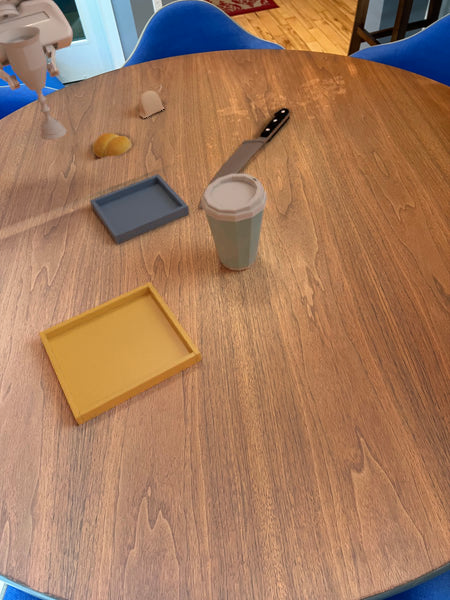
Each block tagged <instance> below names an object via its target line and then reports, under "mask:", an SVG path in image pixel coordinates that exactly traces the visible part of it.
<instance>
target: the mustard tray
mask: <svg viewBox="0 0 450 600" xmlns="http://www.w3.org/2000/svg"><path fill="white" fill-rule="evenodd" d="M38 335H39V339H40V340H41V342H42V345H43V347H44V349H45V351H46V353H47V357H48V358H49V361H50V363H51V366H52V368H53V370H54V372H55V376H56V377H57V380H58V382H59V385H60V386H61V389H62V391H63V394H64V396H65V398H66V402H67V403H68V406H69V407H70V410H71V412H72V415H73V417H74V419H75V421H76V423H77V424H78V425H79V426H81V425H83V424H85V423H87V422H89V421H90V420H92V419H94V418H96V417H98V416H100V415H102V414H103V413H106V412H107V411H110V410H111V409H113V408H115V407H117V406H118V405H120V404H122V403H124V402H126V401H128V400H130V399H131V398H133V397H135V396H138V395H139V394H141V393H143V392H145V391H148V390H149V389H150V388H153V387H155V386H156V385H158V384H160V383H162V382H163V381H166V380H168V379H169V378H171V377H173V376H175V375H177V374H179V373H180V372H182V371H184V370H186V369H188V368H190V367H192V366H194V365H196V364H197V363H200V362H201V361H202V354H201V352H200V350H199V349H198V348H197V346H196V344H195V343H194V342H193V340H192V339H191V337H190V336H189V335H188V333H187V332H186V330H185V329H184V328H183V326H182V325H181V323H180V322H179V320H178V319H177V317H176V316H175V314H174V313H173V312H172V310H171V309H170V307H169V306H168V304H167V303H166V302H165V300H164V299H163V298H162V296H161V295H160V293H159V292H158V290H157V289H156V287H155V286H154V285H153V283H152V282H151V281H149V282H146V283H145V284H141V285H140V286H137V287H135V288H134V289H130V290H129V291H127V292H125V293H122V294H120V295H118V296H116V297H114V298H112V299H110V300H107V301H105V302H103V303H101V304H99V305H97V306H94V307H92V308H90V309H88V310H85V311H83V312H81V313H78V314H76V315H74V316H73V317H70V318H67V319H66V320H64V321H61V322H60V323H57V324H55V325H52V326H51V327H49V328H47V329H44V330H42V331H39V332H38Z"/></svg>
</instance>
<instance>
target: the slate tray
mask: <svg viewBox="0 0 450 600" xmlns="http://www.w3.org/2000/svg"><path fill="white" fill-rule="evenodd" d="M89 201H90V205H91V208H92V209H93V211H94V212H95V214H96V215H97V217H98V218H99V220H100V221H101V223H102V224H103V225H104V227H105V228H106V230H107V231H108V233H109V234H110V236H111V237H112V238H113V240H114V242H115V243H116V244H117V245H120V244H122V243H124V242H126V241H127V242H128V241H129V240H131V239H134V238H136V237H138V236H141V235H143V234H145V233H148V232H150V231H153V230H155V229H158V228H160V227H162V226H164V225H167V224H169V223H171V222H174V221H177V220H178V219H180V218H184V217H186V216H188V215H190V210H189V205H188V204H187V203H186V202H185V201H184V200H183V199H182V197H180V195H179V194H178V193H177V192H176V191H175V190H174V189H173V188H172V186H170V185H169V184H168V183H167V182H166V180H164V178H163V177H162V176H161V175H160V174H159V173H156V174H154V175H152V176H149V177H147V178H143V179H142V180H139V181H137V182H133V183H131V184H129V185H126V186H124V187H120V188H118V189H115V190H113V191H110V192H108V193H105V194H102V195H100V196H97V197H95V198H93V199H90V200H89Z"/></svg>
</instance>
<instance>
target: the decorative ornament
mask: <svg viewBox="0 0 450 600" xmlns="http://www.w3.org/2000/svg"><path fill="white" fill-rule="evenodd" d="M162 88H163V85H162V84H159V85H158V86H157V87H156V89H154V90H155V91H154V90H146V91H144V92H143V93H141V95H139V98H138V103H137V104H138V109H139V113H138V114H139V116H140V117H141V118H143V119H144V118H146V117H147V118H149V117H150V116H152V115H154V114H156V113H158V112H161V110H162V111H164V110H163V109H164V108H165V107H164V106H163V103H162V99H161V97H160V96H159V95H160V93H161V91H162ZM147 118H146V119H147Z"/></svg>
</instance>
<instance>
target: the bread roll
mask: <svg viewBox="0 0 450 600" xmlns="http://www.w3.org/2000/svg"><path fill="white" fill-rule="evenodd" d="M131 148H133V145H132V141H131V140H130V138H128V137H127V136H124V135H119V134H116V133H113V132H106V133H103V134H101V135H99V136H98V137H97V138H96V140H95V141H94V142H93V144H92V151H93V153H94V155H96V157H98V158H100V159H104V158H107V157H115V156H119V155H122V154H124V153H127V151H129V150H130V149H131Z"/></svg>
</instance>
